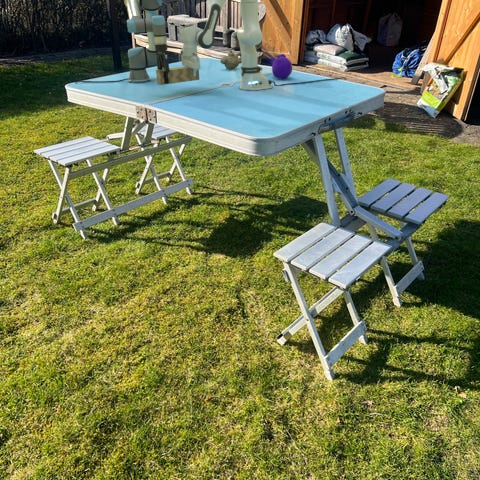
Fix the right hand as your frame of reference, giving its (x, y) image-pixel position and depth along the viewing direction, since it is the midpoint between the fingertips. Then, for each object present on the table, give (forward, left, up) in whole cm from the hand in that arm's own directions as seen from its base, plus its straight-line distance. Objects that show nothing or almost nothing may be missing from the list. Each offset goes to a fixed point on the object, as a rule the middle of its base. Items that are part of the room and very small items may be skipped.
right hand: (191, 74), depth 296 cm
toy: (-72, -26, -12) cm, 77 cm away
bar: (+9, +3, -3) cm, 10 cm away
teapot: (-50, -74, -12) cm, 90 cm away
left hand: (+19, +5, -3) cm, 20 cm away
